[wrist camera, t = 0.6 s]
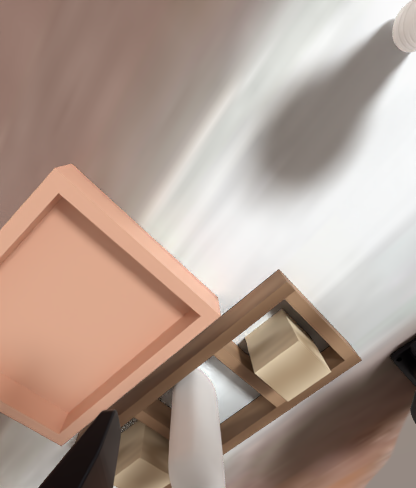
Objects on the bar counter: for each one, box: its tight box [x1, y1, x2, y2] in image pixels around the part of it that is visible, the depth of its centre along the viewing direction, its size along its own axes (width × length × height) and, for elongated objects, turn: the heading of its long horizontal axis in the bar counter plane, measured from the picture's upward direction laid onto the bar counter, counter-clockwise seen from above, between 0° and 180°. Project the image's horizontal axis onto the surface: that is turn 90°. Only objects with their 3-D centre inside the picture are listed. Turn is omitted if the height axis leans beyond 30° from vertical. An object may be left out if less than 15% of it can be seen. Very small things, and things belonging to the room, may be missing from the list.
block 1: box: [113, 420, 170, 488], centre depth 26 cm, size 4×4×4 cm
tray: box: [0, 164, 221, 446], centre depth 21 cm, size 14×18×2 cm
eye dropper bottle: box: [168, 368, 225, 488], centre depth 21 cm, size 4×6×12 cm
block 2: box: [245, 309, 331, 401], centre depth 23 cm, size 4×4×4 cm
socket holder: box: [75, 270, 361, 488], centre depth 25 cm, size 10×24×2 cm, turn 133°
